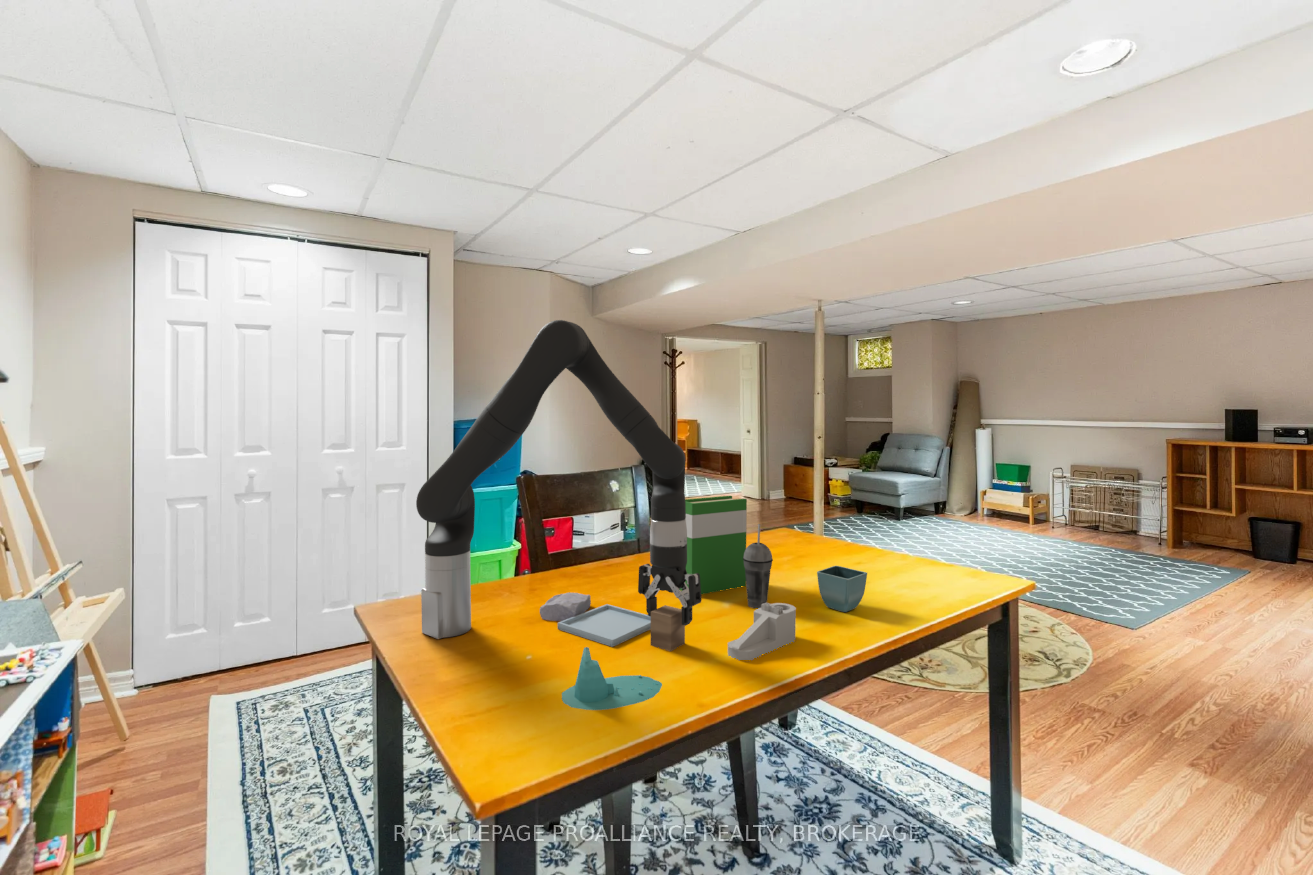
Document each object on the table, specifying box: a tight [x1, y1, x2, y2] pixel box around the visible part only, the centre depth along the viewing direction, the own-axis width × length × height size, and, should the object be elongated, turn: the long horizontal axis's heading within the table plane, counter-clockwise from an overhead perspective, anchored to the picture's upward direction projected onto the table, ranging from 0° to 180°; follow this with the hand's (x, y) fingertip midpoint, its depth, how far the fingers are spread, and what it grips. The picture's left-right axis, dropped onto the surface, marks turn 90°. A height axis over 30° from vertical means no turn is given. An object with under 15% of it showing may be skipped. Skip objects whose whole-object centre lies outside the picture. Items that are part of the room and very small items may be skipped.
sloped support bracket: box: [727, 602, 797, 661], centre depth 120 cm, size 6×18×8 cm, turn 132°
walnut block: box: [650, 605, 686, 652], centre depth 121 cm, size 5×5×7 cm
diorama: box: [561, 646, 663, 711], centre depth 100 cm, size 12×20×9 cm, turn 112°
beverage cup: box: [743, 523, 774, 609], centre depth 145 cm, size 7×7×20 cm
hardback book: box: [680, 495, 748, 595], centre depth 160 cm, size 18×7×24 cm, turn 120°
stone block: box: [539, 592, 592, 622], centre depth 140 cm, size 12×5×10 cm
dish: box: [557, 603, 651, 648], centre depth 131 cm, size 16×16×1 cm
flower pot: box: [816, 565, 868, 613], centre depth 144 cm, size 9×9×9 cm
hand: (669, 619), depth 121 cm, fingers open, 8 cm apart
